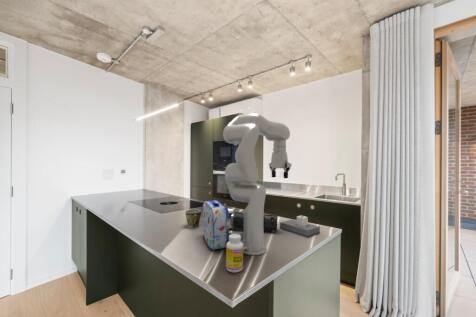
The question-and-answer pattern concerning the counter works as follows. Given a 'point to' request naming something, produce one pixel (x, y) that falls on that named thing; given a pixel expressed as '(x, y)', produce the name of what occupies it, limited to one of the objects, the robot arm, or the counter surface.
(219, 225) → the lunch box
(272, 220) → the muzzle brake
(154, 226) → the counter surface
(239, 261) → the supplement bottle
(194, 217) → the olive green tapered container
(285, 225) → the outlet box
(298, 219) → the charger
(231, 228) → the spread jar
